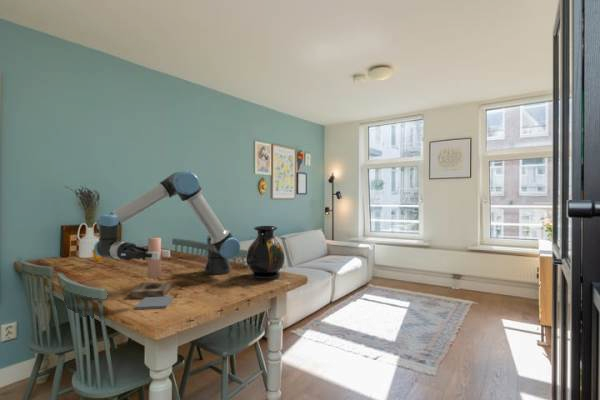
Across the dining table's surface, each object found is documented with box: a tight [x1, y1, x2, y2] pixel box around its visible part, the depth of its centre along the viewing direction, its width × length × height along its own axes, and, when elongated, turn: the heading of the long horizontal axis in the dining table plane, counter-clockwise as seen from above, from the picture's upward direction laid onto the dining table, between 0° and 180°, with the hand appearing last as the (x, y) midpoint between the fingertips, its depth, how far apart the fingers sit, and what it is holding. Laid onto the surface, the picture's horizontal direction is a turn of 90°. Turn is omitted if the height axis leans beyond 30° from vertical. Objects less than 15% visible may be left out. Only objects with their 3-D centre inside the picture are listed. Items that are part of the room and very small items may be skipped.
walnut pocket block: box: [129, 281, 173, 299], centre depth 147 cm, size 14×14×3 cm
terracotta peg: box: [147, 237, 162, 279], centre depth 133 cm, size 5×5×16 cm
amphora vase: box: [245, 225, 286, 281], centre depth 177 cm, size 22×22×28 cm
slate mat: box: [134, 295, 175, 310], centre depth 133 cm, size 12×12×1 cm
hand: (164, 254), depth 131 cm, fingers closed on terracotta peg, 5 cm apart
